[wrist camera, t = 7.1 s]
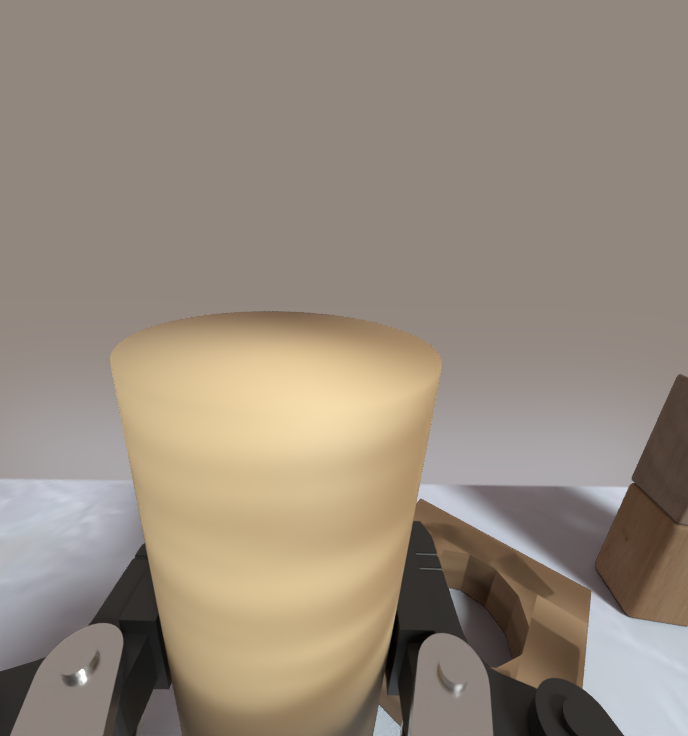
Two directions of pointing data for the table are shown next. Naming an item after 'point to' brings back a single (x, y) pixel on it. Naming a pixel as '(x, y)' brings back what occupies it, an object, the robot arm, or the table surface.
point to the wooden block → (654, 524)
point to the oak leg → (276, 509)
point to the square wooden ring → (511, 602)
